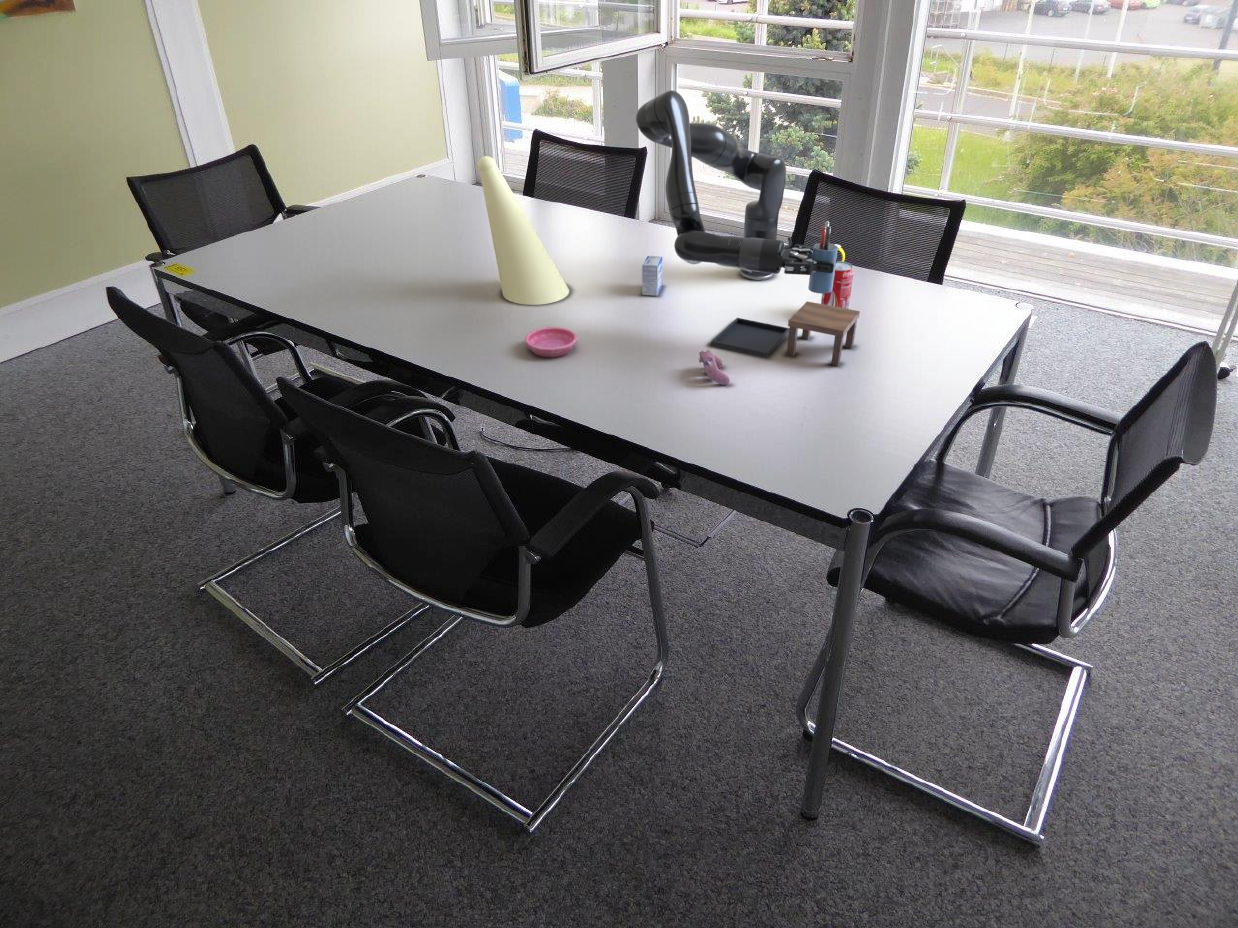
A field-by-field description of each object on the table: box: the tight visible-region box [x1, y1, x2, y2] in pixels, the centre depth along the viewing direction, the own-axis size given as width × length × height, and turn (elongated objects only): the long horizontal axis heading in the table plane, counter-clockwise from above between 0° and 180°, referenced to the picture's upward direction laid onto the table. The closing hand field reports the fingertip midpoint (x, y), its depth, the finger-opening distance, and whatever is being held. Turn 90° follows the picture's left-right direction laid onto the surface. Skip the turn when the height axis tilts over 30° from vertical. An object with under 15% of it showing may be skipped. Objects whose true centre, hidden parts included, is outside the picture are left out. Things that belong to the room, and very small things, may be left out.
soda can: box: [820, 260, 854, 309], centre depth 222 cm, size 7×7×13 cm
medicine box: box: [641, 255, 663, 297], centre depth 238 cm, size 8×4×9 cm, turn 168°
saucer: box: [524, 326, 578, 358], centre depth 208 cm, size 12×12×3 cm
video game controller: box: [698, 348, 731, 386], centre depth 195 cm, size 10×5×7 cm, turn 5°
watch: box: [833, 243, 846, 262], centre depth 254 cm, size 6×3×6 cm, turn 53°
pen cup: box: [807, 220, 839, 295], centre depth 195 cm, size 5×5×16 cm
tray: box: [710, 317, 789, 358], centre depth 213 cm, size 16×14×1 cm
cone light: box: [477, 155, 570, 306], centre depth 232 cm, size 25×18×35 cm
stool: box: [786, 300, 861, 367], centre depth 205 cm, size 13×13×9 cm
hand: (835, 263), depth 195 cm, fingers closed on pen cup, 5 cm apart
